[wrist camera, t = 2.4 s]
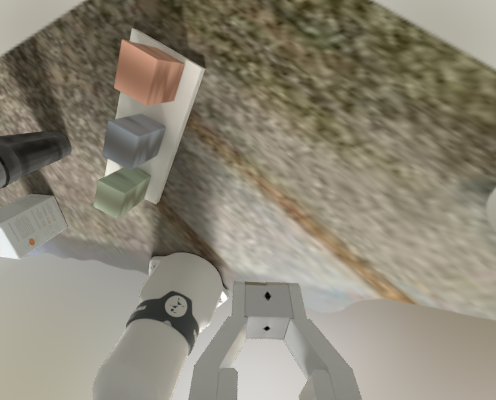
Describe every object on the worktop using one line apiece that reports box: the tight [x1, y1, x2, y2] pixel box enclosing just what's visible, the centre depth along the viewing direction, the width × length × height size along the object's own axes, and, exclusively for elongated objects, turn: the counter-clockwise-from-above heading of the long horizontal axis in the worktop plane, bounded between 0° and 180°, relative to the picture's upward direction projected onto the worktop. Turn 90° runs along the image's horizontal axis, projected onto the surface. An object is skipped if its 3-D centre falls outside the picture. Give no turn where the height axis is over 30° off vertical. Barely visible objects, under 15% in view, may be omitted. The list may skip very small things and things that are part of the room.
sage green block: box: [94, 167, 151, 219], centre depth 36 cm, size 5×4×7 cm
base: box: [105, 28, 205, 204], centre depth 36 cm, size 24×10×2 cm, turn 153°
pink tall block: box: [114, 39, 185, 106], centre depth 28 cm, size 5×4×7 cm
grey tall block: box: [102, 114, 166, 170], centre depth 32 cm, size 5×4×7 cm
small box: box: [0, 194, 68, 259], centre depth 44 cm, size 8×6×10 cm
